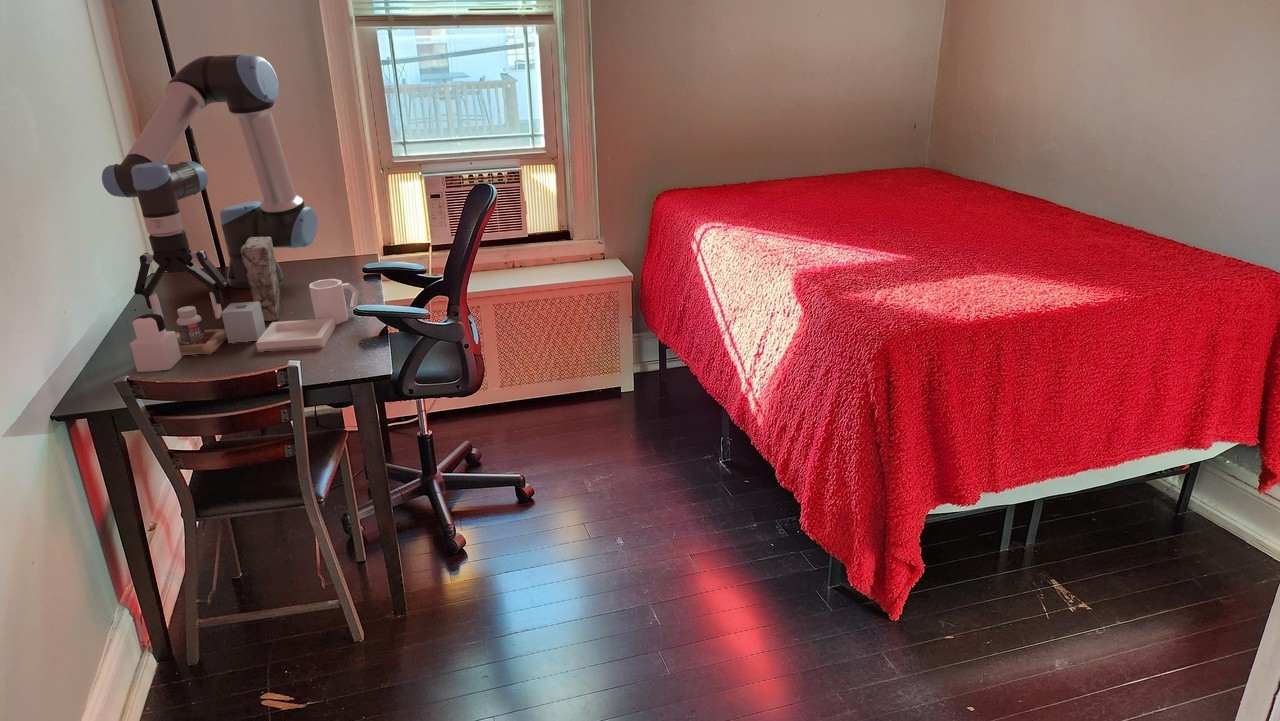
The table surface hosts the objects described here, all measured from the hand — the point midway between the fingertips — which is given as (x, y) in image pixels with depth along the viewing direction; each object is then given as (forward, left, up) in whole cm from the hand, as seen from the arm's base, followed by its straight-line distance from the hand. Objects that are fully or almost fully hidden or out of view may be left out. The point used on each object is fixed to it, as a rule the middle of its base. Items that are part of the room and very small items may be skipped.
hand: (189, 318), depth 200 cm
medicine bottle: (+11, -4, -7) cm, 14 cm away
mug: (-14, +31, -7) cm, 35 cm away
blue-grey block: (-4, +11, -7) cm, 13 cm away
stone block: (-21, +12, -7) cm, 25 cm away
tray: (0, +24, -7) cm, 25 cm away
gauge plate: (0, 0, -7) cm, 7 cm away
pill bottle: (0, 0, -7) cm, 7 cm away
